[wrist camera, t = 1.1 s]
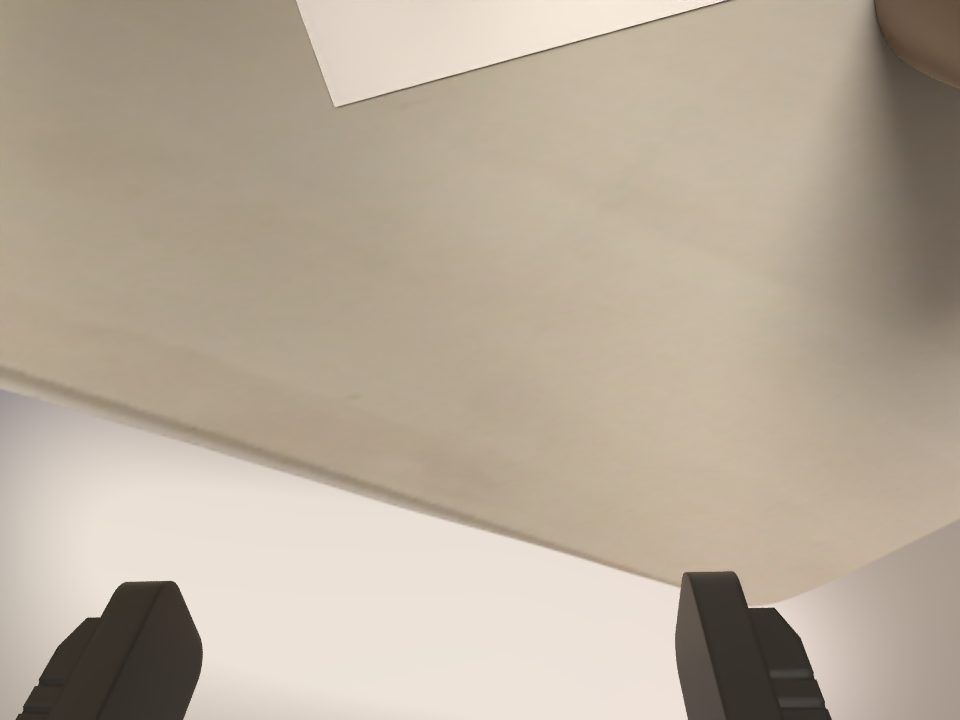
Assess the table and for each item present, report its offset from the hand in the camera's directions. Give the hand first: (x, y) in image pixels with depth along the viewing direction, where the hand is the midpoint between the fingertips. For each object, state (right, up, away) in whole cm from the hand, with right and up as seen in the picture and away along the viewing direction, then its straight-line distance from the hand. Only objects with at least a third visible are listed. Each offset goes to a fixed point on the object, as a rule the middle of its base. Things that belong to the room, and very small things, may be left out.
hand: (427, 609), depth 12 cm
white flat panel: (+1, +25, +15) cm, 29 cm away
